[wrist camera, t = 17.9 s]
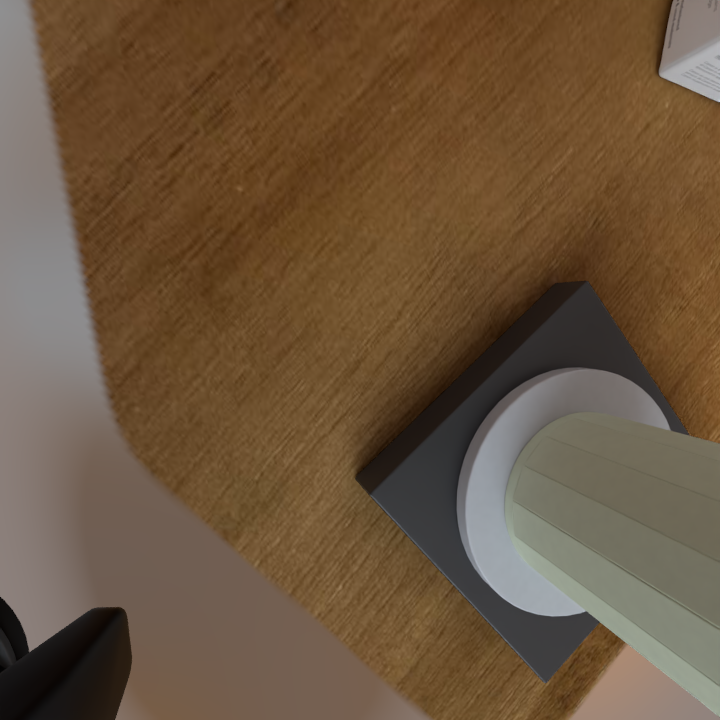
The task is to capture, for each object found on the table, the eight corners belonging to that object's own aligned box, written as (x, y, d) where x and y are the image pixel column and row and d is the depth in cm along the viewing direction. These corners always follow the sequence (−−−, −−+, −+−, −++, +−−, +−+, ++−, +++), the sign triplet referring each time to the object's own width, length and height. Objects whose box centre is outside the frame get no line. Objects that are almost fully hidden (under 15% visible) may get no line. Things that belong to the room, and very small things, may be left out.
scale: (683, 470, 25) (740, 489, 23) (518, 654, 24) (558, 698, 21) (555, 282, 22) (603, 278, 20) (353, 477, 20) (375, 503, 18)
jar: (481, 562, 19) (812, 867, 9) (535, 391, 19) (932, 490, 9) (617, 588, 21) (1020, 863, 11) (666, 434, 21) (1118, 557, 11)
